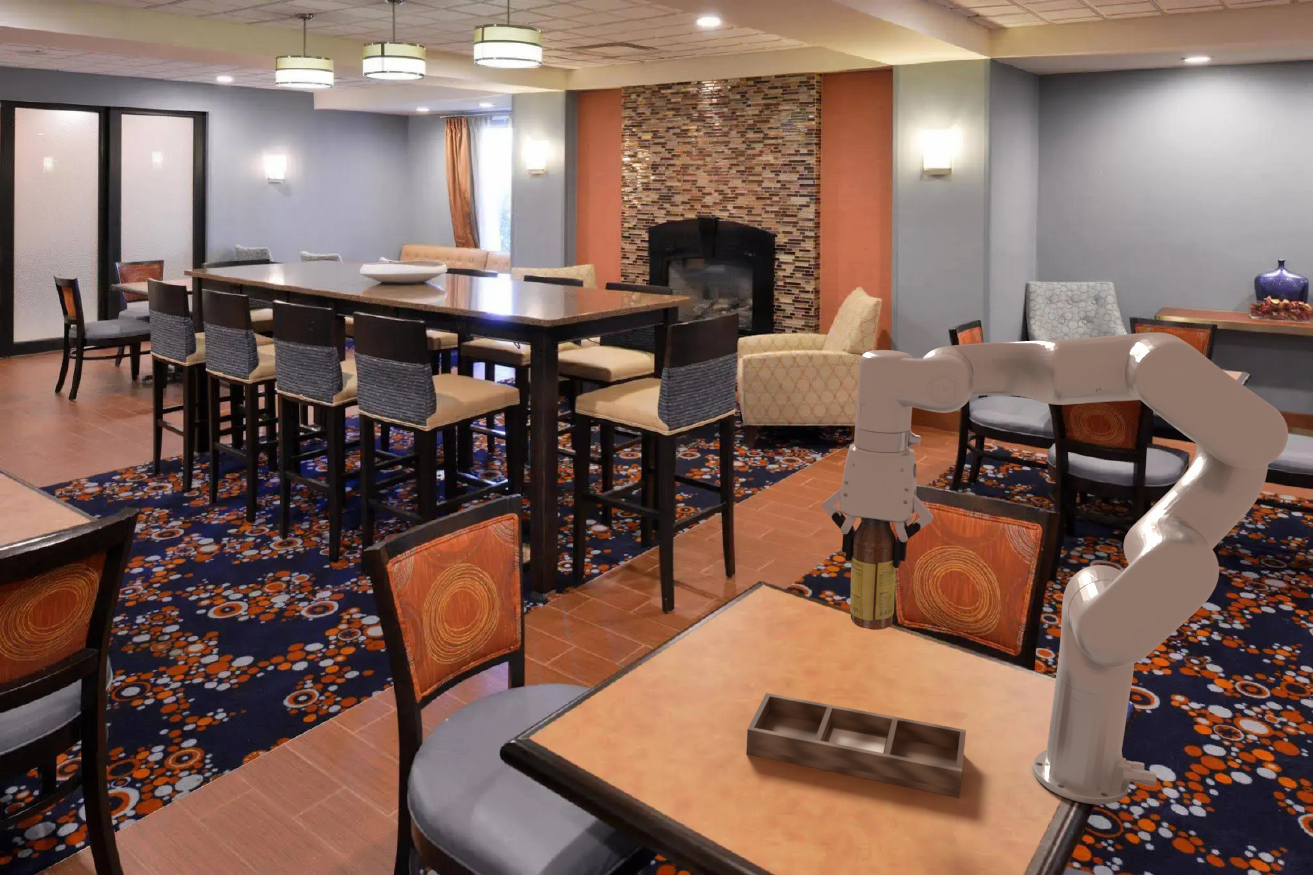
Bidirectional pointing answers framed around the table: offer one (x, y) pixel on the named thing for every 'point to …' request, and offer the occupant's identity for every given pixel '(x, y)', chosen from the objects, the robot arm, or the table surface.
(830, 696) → the table surface
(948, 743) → the walnut rack
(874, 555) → the sauce bottle
